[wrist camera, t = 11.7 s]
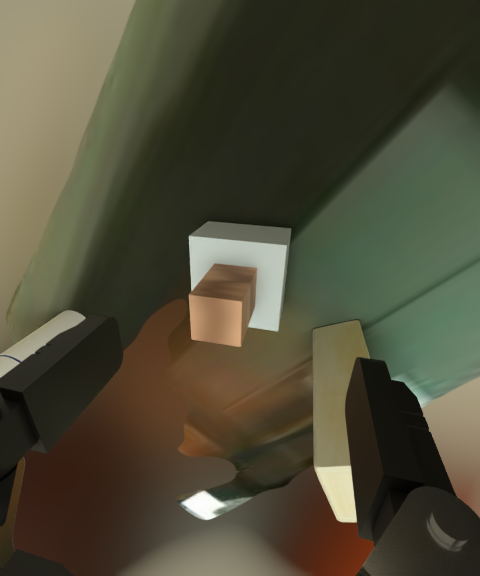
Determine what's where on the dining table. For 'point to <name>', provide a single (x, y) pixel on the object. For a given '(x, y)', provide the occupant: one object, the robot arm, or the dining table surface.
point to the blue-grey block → (246, 262)
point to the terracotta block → (223, 304)
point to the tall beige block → (335, 411)
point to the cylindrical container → (38, 339)
